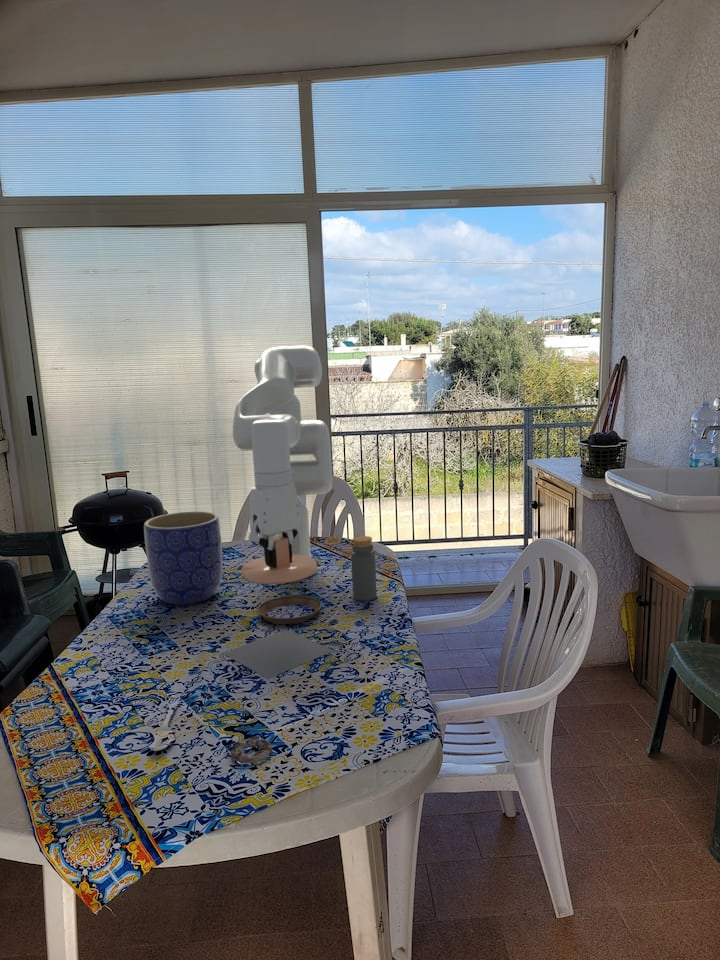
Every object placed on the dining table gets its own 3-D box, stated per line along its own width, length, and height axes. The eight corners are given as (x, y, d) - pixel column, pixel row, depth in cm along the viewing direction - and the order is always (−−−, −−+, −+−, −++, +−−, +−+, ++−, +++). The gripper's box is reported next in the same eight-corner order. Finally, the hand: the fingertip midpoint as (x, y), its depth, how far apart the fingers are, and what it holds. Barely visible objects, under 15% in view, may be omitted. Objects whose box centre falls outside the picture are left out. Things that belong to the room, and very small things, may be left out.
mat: (222, 655, 133) (222, 652, 132) (287, 631, 143) (286, 629, 143) (267, 681, 121) (267, 678, 121) (334, 653, 131) (333, 650, 131)
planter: (215, 609, 158) (208, 527, 154) (140, 612, 159) (131, 529, 155) (232, 584, 176) (226, 509, 173) (165, 586, 177) (157, 512, 173)
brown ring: (301, 600, 162) (300, 590, 162) (334, 617, 150) (333, 606, 150) (247, 616, 154) (246, 605, 153) (277, 635, 142) (276, 623, 142)
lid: (227, 571, 139) (224, 540, 138) (287, 554, 150) (285, 524, 148) (269, 590, 127) (267, 555, 126) (332, 569, 138) (331, 537, 137)
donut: (289, 753, 99) (288, 741, 99) (254, 782, 93) (253, 769, 93) (248, 737, 104) (247, 725, 104) (212, 763, 98) (211, 751, 97)
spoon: (143, 760, 99) (142, 750, 98) (167, 693, 119) (166, 685, 119) (171, 757, 99) (170, 747, 99) (190, 691, 119) (189, 682, 119)
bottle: (377, 592, 165) (375, 535, 162) (375, 601, 159) (373, 541, 157) (354, 592, 166) (351, 535, 163) (351, 601, 160) (349, 541, 157)
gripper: (294, 470, 143) (299, 551, 146) (228, 483, 132) (236, 570, 136) (315, 474, 137) (320, 558, 141) (249, 488, 127) (256, 578, 130)
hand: (279, 563), depth 138 cm, fingers closed on lid, 3 cm apart
